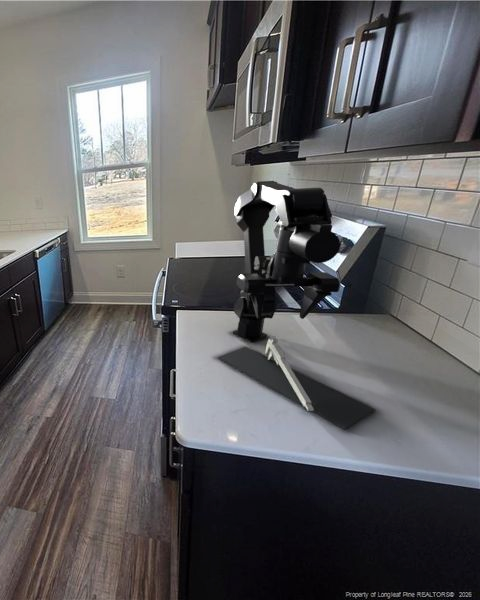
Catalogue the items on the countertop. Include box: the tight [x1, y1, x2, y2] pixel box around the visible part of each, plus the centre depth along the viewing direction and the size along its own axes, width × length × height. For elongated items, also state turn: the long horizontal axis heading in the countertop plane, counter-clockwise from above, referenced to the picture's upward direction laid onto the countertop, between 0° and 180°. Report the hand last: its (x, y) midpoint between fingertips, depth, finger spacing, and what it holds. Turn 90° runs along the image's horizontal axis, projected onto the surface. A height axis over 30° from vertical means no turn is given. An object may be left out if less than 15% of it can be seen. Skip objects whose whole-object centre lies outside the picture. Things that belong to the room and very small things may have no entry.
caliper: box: [264, 335, 314, 412], centre depth 69 cm, size 20×1×6 cm, turn 172°
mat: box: [217, 346, 376, 431], centre depth 70 cm, size 10×28×1 cm, turn 26°
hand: (279, 318), depth 72 cm, fingers open, 9 cm apart
